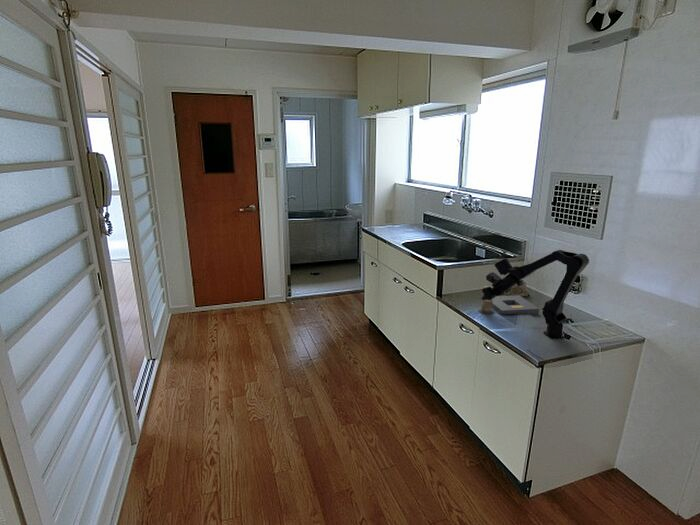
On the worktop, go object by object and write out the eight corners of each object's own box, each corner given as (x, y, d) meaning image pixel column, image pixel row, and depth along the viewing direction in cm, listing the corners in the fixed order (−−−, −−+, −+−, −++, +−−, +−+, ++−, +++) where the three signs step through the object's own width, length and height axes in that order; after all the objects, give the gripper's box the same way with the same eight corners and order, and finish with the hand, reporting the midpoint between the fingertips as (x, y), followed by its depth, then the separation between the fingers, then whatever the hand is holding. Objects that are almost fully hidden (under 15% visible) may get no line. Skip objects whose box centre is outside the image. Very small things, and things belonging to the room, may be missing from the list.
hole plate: (538, 314, 202) (539, 308, 201) (501, 316, 200) (501, 310, 199) (518, 300, 221) (519, 295, 220) (484, 302, 219) (484, 296, 218)
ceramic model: (504, 296, 227) (506, 280, 225) (500, 290, 238) (502, 274, 235) (530, 297, 225) (532, 281, 222) (525, 291, 236) (527, 275, 233)
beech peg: (493, 313, 201) (495, 289, 197) (483, 313, 200) (485, 289, 197) (488, 309, 205) (491, 285, 202) (479, 310, 205) (481, 286, 202)
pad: (497, 316, 200) (497, 314, 199) (482, 316, 199) (482, 315, 199) (490, 310, 207) (490, 308, 207) (475, 310, 207) (475, 309, 206)
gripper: (507, 265, 199) (486, 281, 210) (487, 272, 188) (465, 288, 199) (520, 283, 196) (498, 298, 207) (500, 292, 184) (478, 307, 195)
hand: (485, 298), depth 202 cm, fingers closed on beech peg, 5 cm apart
